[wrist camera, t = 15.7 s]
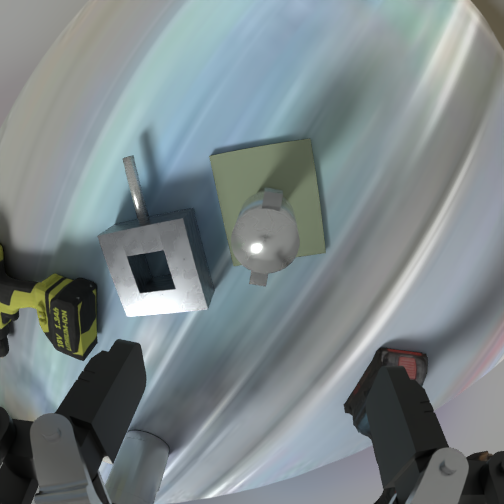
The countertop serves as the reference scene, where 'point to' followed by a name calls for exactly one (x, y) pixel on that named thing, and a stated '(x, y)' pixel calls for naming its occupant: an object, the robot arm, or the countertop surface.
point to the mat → (272, 176)
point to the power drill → (358, 397)
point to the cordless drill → (52, 310)
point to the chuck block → (151, 240)
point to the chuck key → (265, 234)
